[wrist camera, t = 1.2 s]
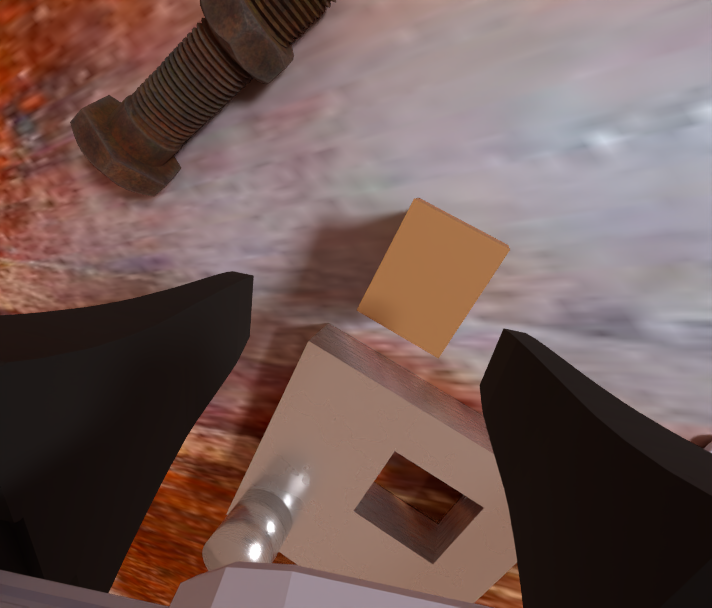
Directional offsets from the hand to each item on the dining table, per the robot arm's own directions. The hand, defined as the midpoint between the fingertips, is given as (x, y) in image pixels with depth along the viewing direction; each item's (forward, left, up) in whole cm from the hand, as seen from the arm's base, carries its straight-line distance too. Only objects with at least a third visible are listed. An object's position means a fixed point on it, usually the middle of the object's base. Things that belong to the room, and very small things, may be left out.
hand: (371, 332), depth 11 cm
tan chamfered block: (-1, -1, -11) cm, 11 cm away
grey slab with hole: (-5, +14, -11) cm, 19 cm away
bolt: (+14, -4, -12) cm, 19 cm away
